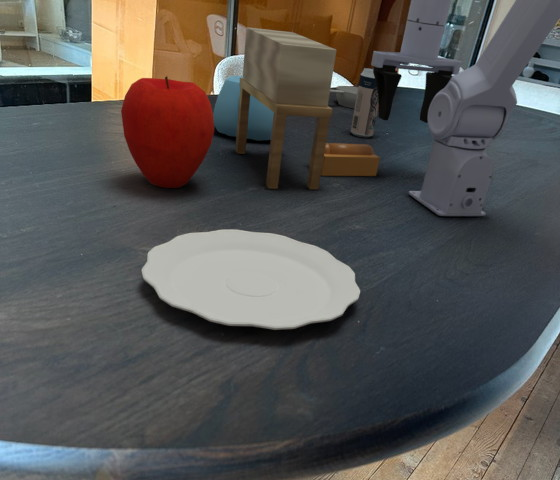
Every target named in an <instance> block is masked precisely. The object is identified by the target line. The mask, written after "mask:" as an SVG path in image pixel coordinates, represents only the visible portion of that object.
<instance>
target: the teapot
mask: <svg viewBox="0 0 560 480" xmlns="http://www.w3.org/2000/svg"><path fill="white" fill-rule="evenodd" d="M240 78H243V75H231V76H228V77H227V78H226V79H225V80H224V82H223V84H222V86H221V88H220V91H219V93H218V95H217V98H216V100H215V104H214V107H213V119H214V128H215V129H216V132H218V133H220V134H224V135H226V136H228V137H234V138H236V136H237V123H238V110H239V96H240V86H239V83H240ZM273 115H274V112H273V111H271V110H270V109H269V108H267V107H266V106H265V105H264V104H262V103H261V102H260V101H258V100H257V99H256V98H255V97H253V96H252V95H251V94H250V104H249V116H248V128H247V139H248V140H253V141H256V142H262V141H271V134H272V124H273ZM247 139H246V140H247Z"/></svg>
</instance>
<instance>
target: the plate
mask: <svg viewBox="0 0 560 480" xmlns="http://www.w3.org/2000/svg"><path fill="white" fill-rule="evenodd" d="M141 274H142V275H141V276H142V279H143V281H145V282H146V283H147V284H148V285H149V286H150V287H152V288H153V289H154V290H155V293H156V294H157V296H158V299H160V300H161V301H163V302H164V303H166V304H168V305H169V306H171V307H173V308H176V309H179V310H182V311H186V312H189V313H192V314H194V315H197V316H198V317H200V318H203V319H204V320H206V321H208V322H211V323H216V324H220V325H223V326H229V327H254V328H261V329H269V330H273V331H277V330H279V331H280V330H293V329H294V330H295V329H297V328H298V329H299V328H301V327H305V326H307V325H311V324H318V323H325V322H332V321H334V320H336V319H337V318H340V317H342V316H344V313H345V311H346V310H347V309H348V307H350V306H351V305H352V304H354V303H355V302H357V301H359V299H360V294H361V289H360V287H359V286H358V284H357V283H356V273H355V272H354V270H353V269H352V268H351V267H350V266H349V265H347V264H346V263H344V262H342V261H340V260H338V258H335V257H334V255H332V254H331V253H330V252H329V251H327V250H325V249H323V248H321V247H319V246H317V245H313V244H311V243H306V242H303V241H299V240H296V239H293V238H291V237H289V236H286V235H282V234H278V233H272V232H257V231H248V230H242V229H224V228H223V229H216V230H212V231H202V232H188V233H185V234H180V235H177V236H175V237H173V238H172V239H171V240H169V241H167V242H164V243H161V244H158V245H156V246H153V248H151V249H150V250H149V251H148V252H147V260H146V263H144V265H143V266H142V268H141Z"/></svg>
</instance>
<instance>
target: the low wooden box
mask: <svg viewBox="0 0 560 480" xmlns="http://www.w3.org/2000/svg"><path fill="white" fill-rule="evenodd" d="M311 154H312V149H311V151H310V155H311ZM380 158H381V157H380V156H378V155H377V154H376V153H374V149H373V147H372V146H371V145H370V144H366V143H339V142H337V143H336V142H326V145H325V152H324V158H323V164H322V170H321V176H322V177H329V176H330V177H377V174H378V169H379V164H380ZM310 160H311V156H309V161H310ZM308 166H309V167H310V162H309V165H308Z"/></svg>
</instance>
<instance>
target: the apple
mask: <svg viewBox="0 0 560 480" xmlns="http://www.w3.org/2000/svg"><path fill="white" fill-rule="evenodd" d="M213 113H214V111H213V108H212V104H211V101H210V99H209V97H208V95H207V93H206V91H205V90H203V88H201V87H200V86H199V85H198V84H196V83H195V82H192V81H180V80H175V79H169V78H168V75H166V76H164V78H155V77H154V78H153V77H141V78H139V79H137V80H136V81H134V82H133V83H131V84H130V86H129V88H128V90H127V91H126V93H125V95H124V98H123V102H122V106H121V110H120V114H121V122H122V130H123V137H124V140H125V142H126V145H127V148H128V151H129V153H130V156H131V157H132V159H133V161H134V163H135V165H136V166H137V167H138V169H139V171H140V172H141V174H142V175H143V176H144V177H145V178H146V180H147V181H148V182H149V183H150V184H151V185H153V186H155V187H159V188H166V189H178V188H181V187H183V186H185V185H187V184H189V182H190V180H191V179H192V178H193V176H194V175H195V174H196V172H197V171H198V169H199V168H200V166H201V165H202V163H203V161H204V160H205V158H206V156H207V154H208V151H209V150H210V147H211V146H212V143H213V137H214V134H215V125H214V119H213Z"/></svg>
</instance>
